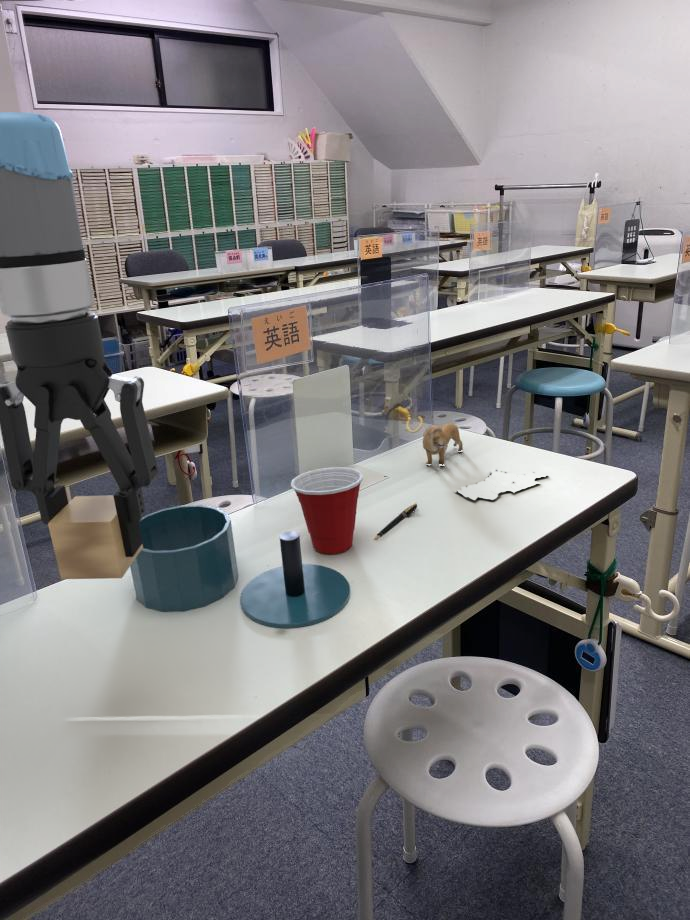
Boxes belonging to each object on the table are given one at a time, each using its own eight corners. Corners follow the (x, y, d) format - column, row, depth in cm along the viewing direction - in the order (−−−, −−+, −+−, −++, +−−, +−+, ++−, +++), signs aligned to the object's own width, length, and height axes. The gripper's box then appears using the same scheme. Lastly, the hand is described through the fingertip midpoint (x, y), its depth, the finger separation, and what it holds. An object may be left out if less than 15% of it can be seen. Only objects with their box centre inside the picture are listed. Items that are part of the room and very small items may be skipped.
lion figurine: (444, 475, 129) (443, 430, 126) (417, 472, 131) (416, 427, 128) (466, 448, 141) (467, 407, 138) (442, 446, 143) (441, 405, 140)
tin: (122, 616, 91) (108, 554, 88) (154, 562, 105) (144, 506, 101) (226, 614, 90) (217, 550, 87) (246, 559, 104) (238, 503, 100)
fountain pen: (376, 545, 105) (376, 536, 105) (370, 543, 106) (369, 534, 106) (420, 508, 116) (420, 500, 116) (414, 507, 117) (413, 499, 116)
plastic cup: (341, 525, 112) (336, 457, 108) (381, 549, 104) (377, 477, 100) (284, 546, 107) (276, 475, 103) (321, 573, 98) (314, 498, 94)
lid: (231, 633, 86) (221, 566, 83) (251, 572, 100) (244, 512, 97) (347, 630, 85) (342, 562, 82) (352, 569, 99) (348, 509, 96)
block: (61, 579, 65) (47, 523, 63) (86, 548, 71) (75, 496, 69) (122, 578, 65) (110, 521, 63) (143, 547, 70) (133, 494, 68)
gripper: (171, 302, 62) (205, 530, 70) (-30, 312, 63) (27, 534, 72) (143, 316, 55) (184, 568, 63) (-82, 327, 56) (-12, 572, 65)
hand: (101, 550), depth 67 cm, fingers closed on block, 6 cm apart
